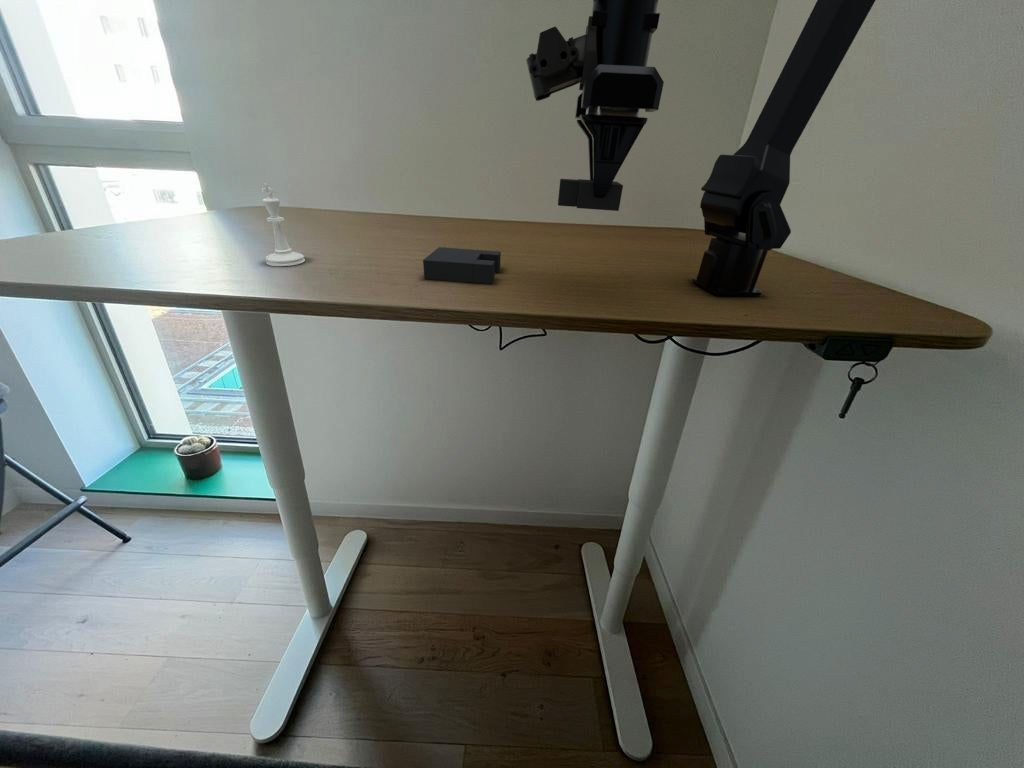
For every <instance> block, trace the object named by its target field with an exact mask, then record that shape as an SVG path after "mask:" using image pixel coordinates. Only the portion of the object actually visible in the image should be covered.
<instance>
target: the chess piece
mask: <svg viewBox="0 0 1024 768" xmlns="http://www.w3.org/2000/svg"><path fill="white" fill-rule="evenodd" d="M263 186H264V187H262V188H261V187H260V190H261V192H262V193H266V198H263V199H262V200H261V202H262V204H263V205H264V207H265V209H266V211H267V212H268V214H269V217H266V222H268V223H269V222H270V223H272V229H273V235H274V244H275V245H274V246H275V249H273V251H274V252H272V253H270V254H268V255H267V256H265V260H266V262H265V263H266V264H267V265H268V266H271V267H289V266H290V267H291V266H297V265H300V264H303V263H304V262H305V261H306V259H305V256H304V254H302V253H300V252H297V251H293V248H291V247H290V245H289V242H288V240H287V238H286V235H285V232H284V229H283V227H282V224H281V222H284V221H285V218H284V216H283V217H282V216H280V214H279V212H280V201H281V200H280V199H279V198H278V197H277V198H276V197H274V196H273V194H276V193H277V191H276V189H275V188H271V185H270V182H264V183H263Z"/></svg>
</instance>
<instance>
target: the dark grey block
mask: <svg viewBox="0 0 1024 768" xmlns="http://www.w3.org/2000/svg"><path fill="white" fill-rule="evenodd" d="M623 188H624V185H623V184H622V183H620V182H618V181H614V180H613V182H612V184H611V186H610V187H609V189H608V191H607V193H606V195H605V196H604V197H603V198H598V197H594V193H593V180H590V179H582V178H578V179H573V178H570V179H569V178H560V179H559V188H558V197H557V198H558V199H557V206H559V207H571V208H573V207H574V208H576V209H586V210H596V211H597V210H598V211H599V210H600V211H614V212H619V211H620V205H621V199H622V196H623V195H622V194H623Z"/></svg>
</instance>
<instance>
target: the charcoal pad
mask: <svg viewBox="0 0 1024 768" xmlns="http://www.w3.org/2000/svg"><path fill="white" fill-rule="evenodd" d="M501 254H502V253H501V251H500V250H487V249H486V250H485V249H484V250H483V249H470V248H458V247H457V248H455V247H445V246H444V247H443V246H438V247H437V248H436V249H434V251H432V252H431V253H429V255H427V256H426V257H425V258H423V260H422V265H423V279H424V280H433V281H443V282H445V281H446V282H457V283H471V284H472V283H473V284H482V285H483V284H484V285H492V284H493V283H494V282H495V276H496V275H495V274H498V273H499V272H500V270H501V258H502V257H501V256H502V255H501Z"/></svg>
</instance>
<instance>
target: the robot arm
mask: <svg viewBox="0 0 1024 768" xmlns="http://www.w3.org/2000/svg"><path fill="white" fill-rule="evenodd" d="M876 1H877V0H816V2H815V4H814V6H813V7H812V10H811V12H810V14H809V16H808V18H807V20H806V22H805V23H804V26H803V28H802V30H801V32H800V34H799V37H798V38H797V40H796V42H795V44H794V46H793V48H792V49H791V52H790V54H789V56H788V58H787V60H786V62H785V64H784V66H783V68H782V70H781V72H780V74H779V76H778V78H777V79H776V82H775V83H774V86H773V88H772V90H771V92H770V94H769V96H768V98H767V100H766V102H765V104H764V105H763V108H762V109H761V112H760V114H759V116H758V117H757V120H756V121H755V124H754V126H753V128H752V129H751V132H750V133H749V135H748V137H747V139H746V141H745V142H744V144H743V145H742V146H740V148H739V149H737V150H736V151H735V152H734V153H733V154H722V153H721V154H720V155H718V157H717V158H716V160H715V162H714V165H713V167H712V171H711V173H710V175H709V177H708V179H707V180H706V182H705V183H704V185H703V186H701V188H700V190H701V191H702V192H703V194H702V198H701V200H700V205H699V207H700V209H701V213H702V217H703V222H704V223H703V225H704V227H703V228H704V235H705V236H711V238H710V240H709V244H708V247H707V249H706V250H705V251H704V252H703V255H702V259H701V263H700V267H699V270H698V273H697V276H695V277H692V280H691V281H692V282H693V283H694V284H696V285H697V286H699V287H701V288H703V289H705V290H706V291H708V292H710V293H711V294H713V295H715V296H761V295H762V293H763V291H762V290H761V289H758V288H756V284H757V282H758V280H759V276H760V275H761V271H762V269H763V266H764V263H765V260H766V258H767V255H768V252H769V251H772V250H774V249H775V250H779V249H781V248H782V247H783V245H784V243H786V241H787V239H788V238H789V237H790V235H791V233H792V229H791V227H790V224H789V222H788V220H787V218H786V215H785V213H784V211H783V208H782V206H781V204H782V202H783V199H784V197H785V194H786V193H787V190H788V189H789V186H790V183H791V155H792V152H793V151H794V148H795V147H796V145H797V143H798V142H799V140H800V138H801V136H802V134H803V132H804V130H805V129H806V127H807V126H808V124H809V122H810V120H811V118H812V116H813V115H814V113H815V111H816V109H817V107H818V105H819V103H820V102H821V100H822V98H823V96H824V94H825V92H826V91H827V89H828V87H829V85H830V84H831V82H832V80H833V78H834V77H835V74H836V73H837V71H838V69H839V68H840V65H841V64H842V62H843V60H844V59H845V57H846V54H847V53H848V51H849V49H850V47H851V46H852V44H853V43H854V40H855V39H856V36H857V35H858V34H859V31H860V29H861V28H862V25H863V24H864V22H865V20H866V18H867V17H868V16H869V13H870V12H871V10H872V8H873V6H874V4H875V2H876ZM658 4H659V0H593V1H592V9H591V15H589V16H588V19H587V25H586V28H585V34H583V35H581V36H578V37H575V38H574V37H573V36H572V37H569V38H568V39H567V40H566V38H565V37H564V36H563V35H562V32H560V30H559V29H558V27H557V26H553V27H550V28H547V29H546V30H545V29H544V30H543V31H540V32H539V36H538V43H537V48H536V52H535V53H534V52H533V53H532V52H531V53H530V54H529V56H528V57H527V58H526V65H527V70H528V74H529V78H530V82H531V87H532V92H533V96H534V99H535V101H536V102H539V101H543V100H545V99H548V98H550V97H551V96H552V94H555V93H557V92H560V91H562V90H566V89H569V88H571V87H573V86H576V85H578V84H579V87H578V90H579V91H581V93H580V94H579V95H578V96H577V99H576V104H575V105H576V106H575V113H574V114H575V116H574V119H576V125H577V126H578V127H579V128H580V130H581V131H582V132H583V133H584V135H585V137H586V138H587V147H588V169H589V170H588V171H589V180H593V193H594V197H598V198H603V197H604V196H605V195H606V193H607V191H608V189H609V187H610V186H611V184H612V182H613V181H614V180H615V179H616V176H617V175H618V173H619V171H620V169H621V167H622V165H623V164H624V162H625V160H626V158H627V156H628V154H629V153H630V151H631V150H632V148H633V146H634V144H635V142H636V140H637V139H638V137H639V135H640V133H641V132H642V130H643V128H644V127H645V125H646V124H647V123H648V119H649V118H648V117H642V116H641V117H640V116H639V115H640V110H644V111H645V113H653V112H656V111H658V110H659V108H660V102H661V100H662V99H661V97H662V94H663V88H664V83H665V82H664V80H663V78H662V76H661V75H660V73H659V71H658V70H657V68H656V67H655V66H648V60H649V55H650V51H651V50H650V49H651V45H652V44H651V43H652V39H653V34H654V33H655V32H656V31H657V29H658V27H659V23H660V22H659V21H660V15H661V12H657V10H658V9H657V8H658Z"/></svg>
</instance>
